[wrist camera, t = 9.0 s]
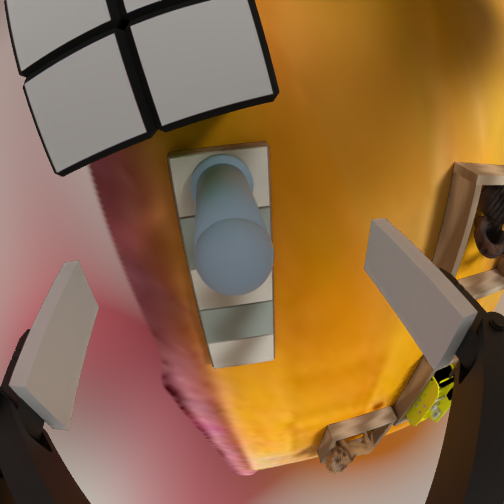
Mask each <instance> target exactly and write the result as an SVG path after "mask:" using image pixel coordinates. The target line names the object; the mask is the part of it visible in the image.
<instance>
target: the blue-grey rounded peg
mask: <svg viewBox="0 0 504 504" xmlns="http://www.w3.org/2000/svg"><path fill="white" fill-rule="evenodd" d="M190 188H191V195H192V198H193V200H194V202H195V203H196V210H195V239H194V260H195V266H196V269H197V272H198V274H199V276H200V277H201V279H202V280H203V281H204V283H205V284H206V285H208V286H209V287H210V288H211V289H213V290H214V291H216V292H219V293H221V294H224V295H230V296H238V295H244V294H247V293H250V292H252V291H254V290H256V289H257V288H259V287H260V286H261V285H262V284H263V283H264V282H265V281H266V279H267V278H268V276H269V275H270V273H271V270H272V268H273V263H274V248H273V244H272V241H271V238H270V236H269V233H268V231H267V228H266V226H265V223H264V221H263V218H262V216H261V213H260V211H259V208H258V206H257V203H256V201H255V198H254V196H253V189H254V183H253V178H252V175H251V173H250V171H249V169H248V167H247V165H246V164H245V163H244V162H243V161H242V160H241V159H239V158H238V157H236V156H233V155H230V154H214V155H211V156H209V157H207V158H205V159H203V160H202V161H201V162H200V163H199V164H198V165H197V166H196V168H195V169H194V171H193V174H192V178H191V187H190Z"/></svg>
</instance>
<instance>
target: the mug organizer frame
mask: <svg viewBox="0 0 504 504" xmlns="http://www.w3.org/2000/svg"><path fill="white" fill-rule="evenodd" d="M482 185H504V165H492V164H479V163H463V162H455V163H454V169H453V175H452V181H451V186H450V192H449V197H448V201H447V206H446V211H445V215H444V219H443V223H442V227H441V231H440V235H439V239H438V243H437V246H436V250H435V253H434V257H433V260H432V263H433V264H434V265H435V266H436V267H437V268H442V269H444V270H445V271H447V272H449V273H450V274H452V275H453V276H454V277H456V274H457V271H458V269H459V266H460V263H461V260H462V257H463V254H464V251H465V248H466V245H467V241H468V238H469V235H470V232H471V228H472V224H473V221H474V217H475V213H476V209H477V205H478V201H479V197H480V193H481V188H482ZM458 282H459V284H461V285H462V286H463V287H464V288H465V290H467V291H468V292H469V293H470V294H471V295H472V297H473V298H474V299H475V300H477V299H480V298H482V297H485V296H487V295H490V294H493V293H495V292H498V291H500V290H502V289H504V258H503V257H501V258H500V261H499V263H498V266H497V268H496V269H492V270H489V271H486V272H483V273H479V274H476V275H473V276H469V277H466V278H462V279H459V280H458Z"/></svg>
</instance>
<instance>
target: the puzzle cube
mask: <svg viewBox="0 0 504 504" xmlns="http://www.w3.org/2000/svg"><path fill="white" fill-rule="evenodd" d="M4 3H5V11H6V17H7V22H8V28H9V33H10V38H11V43H12V47H13V52H14V56H15V60H16V63H17V68H18V71H19V75H21V76H24V77H26V80H25V83H24V85H23V90H24V93H25V96H26V99H27V103H28V106H29V109H30V112H31V114H32V117H33V120H34V123H35V125H36V128H37V131H38V134H39V136H40V139H41V142H42V144H43V147H44V149H45V152H46V154H47V156H48V159H49V161H50V164H51V166H52V168H53V170H54V173H55V174H58V175H60V176H62V177H63V176H65V175H67V174H69V173H71V172H73V171H75V170H77V169H80V168H82V167H84V166H86V165H88V164H90V163H92V162H94V161H97V160H99V159H101V158H103V157H106V156H108V155H110V154H112V153H115V152H117V151H119V150H122V149H124V148H127V147H129V146H132V145H134V144H137V143H139V142H142V141H144V140H147V139H149V138H151V137H152V136H153V135H154V134H155V133H156V131H157V130H158V129H159V130H162V131H164V132H168V131H171V130H174V129H177V128H180V127H183V126H186V125H189V124H192V123H195V122H198V121H201V120H205V119H208V118H211V117H215V116H218V115H222V114H225V113H229V112H232V111H236V110H240V109H243V108H247V107H251V106H255V105H259V104H264V103H268V102H272V101H274V100H275V98H276V97H277V95H278V94H279V88H278V84H277V80H276V76H275V72H274V68H273V64H272V60H271V57H270V53H269V49H268V45H267V42H266V38H265V34H264V31H263V27H262V24H261V20H260V17H259V14H258V10H257V7H256V4H255V0H5V1H4Z"/></svg>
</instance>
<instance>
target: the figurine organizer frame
mask: <svg viewBox="0 0 504 504" xmlns="http://www.w3.org/2000/svg"><path fill="white" fill-rule="evenodd" d="M396 419H397V418H396V416H395V414H394V412H393V410H392V407H391V406H388V407H386V408H383V409H380V410H377V411H374V412H371V413H368V414H365V415H362V416H358V417H355V418H352V419H348V420H345V421H341V422H338V423H334V424H330V425H327V428H326V431H325V433H324V436H323V438H322V441H321V443H320V446H319V448H318V451H317V452H318V456H319V459H320V462H321V463H325V461H326V458H327V456H328V455H329V454H330V453H331V450H332V448H334V447H336V445H335V446H334V444H335V443H336V441H337V440H340V439H344V438H347V437H350V436H354V435H357V434H360V433H363V432H366V431H369V430H372V429H374V430H373V433H372V436H373V444H374V447H375V446H376V445H377V443H378V442H379V441H380V440H381V439H382V437H383V436H384V435H385V434H386V432H387V431H388V430H389V429H390V427H391V426H392V425H393V423H394V422H395V421H396ZM370 433H371V432H370ZM370 433H369V434H368V438H369V439H370ZM362 439H363V437H362V438H359V439H356V440H352V441H349V442H353V441H357V442H361V440H362ZM370 441H371V439H370ZM349 442H346V443H349Z"/></svg>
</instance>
